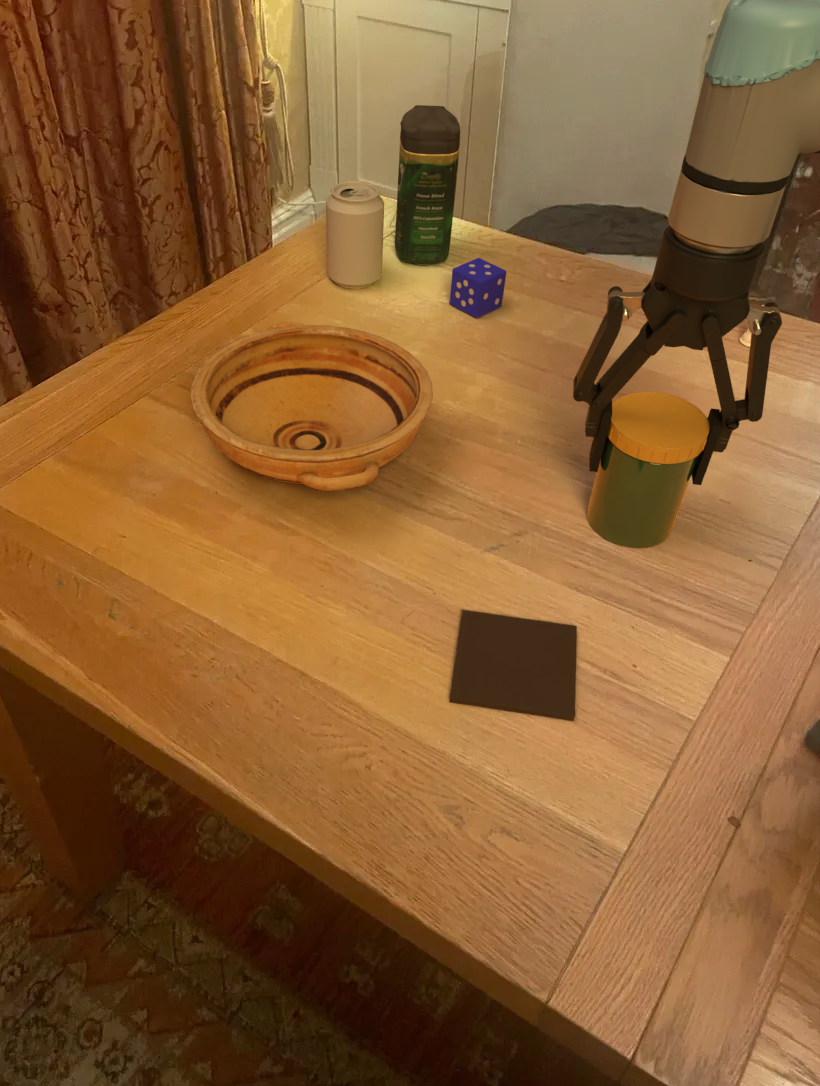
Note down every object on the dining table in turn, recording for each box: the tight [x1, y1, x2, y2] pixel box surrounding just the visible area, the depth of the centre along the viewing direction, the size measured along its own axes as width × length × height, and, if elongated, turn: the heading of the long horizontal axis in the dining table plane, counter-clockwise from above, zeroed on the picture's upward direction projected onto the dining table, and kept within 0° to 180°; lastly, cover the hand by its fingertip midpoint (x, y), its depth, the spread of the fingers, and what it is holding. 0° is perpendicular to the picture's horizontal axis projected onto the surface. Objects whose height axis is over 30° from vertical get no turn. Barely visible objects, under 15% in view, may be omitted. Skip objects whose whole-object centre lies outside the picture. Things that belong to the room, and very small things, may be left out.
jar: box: [586, 435, 698, 549], centre depth 86 cm, size 8×8×12 cm
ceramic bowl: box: [190, 321, 434, 492], centre depth 94 cm, size 30×24×8 cm
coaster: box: [448, 609, 578, 722], centre depth 76 cm, size 10×10×1 cm
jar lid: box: [607, 391, 710, 464], centre depth 82 cm, size 9×9×2 cm
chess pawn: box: [739, 304, 765, 348], centre depth 112 cm, size 3×3×5 cm
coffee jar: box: [394, 104, 461, 266], centre depth 123 cm, size 10×8×19 cm
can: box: [325, 180, 385, 290], centre depth 119 cm, size 8×8×12 cm
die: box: [449, 257, 507, 319], centre depth 117 cm, size 5×5×5 cm
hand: (644, 469), depth 85 cm, fingers closed on jar lid, 9 cm apart
